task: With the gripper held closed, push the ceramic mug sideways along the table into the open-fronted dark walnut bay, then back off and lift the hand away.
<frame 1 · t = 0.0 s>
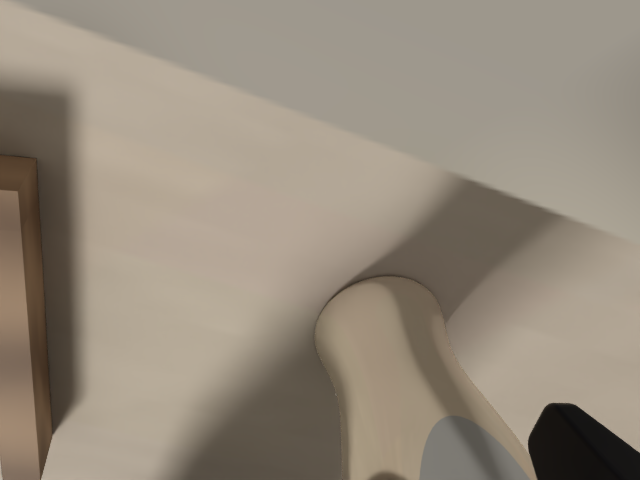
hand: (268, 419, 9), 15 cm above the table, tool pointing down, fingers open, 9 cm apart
beer glass: (376, 324, 28), on the table
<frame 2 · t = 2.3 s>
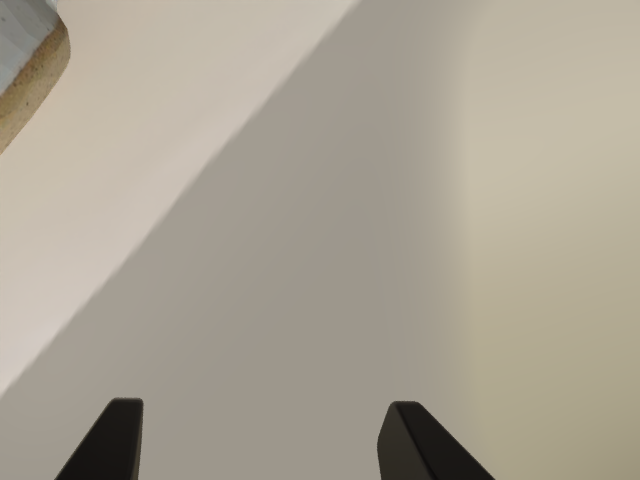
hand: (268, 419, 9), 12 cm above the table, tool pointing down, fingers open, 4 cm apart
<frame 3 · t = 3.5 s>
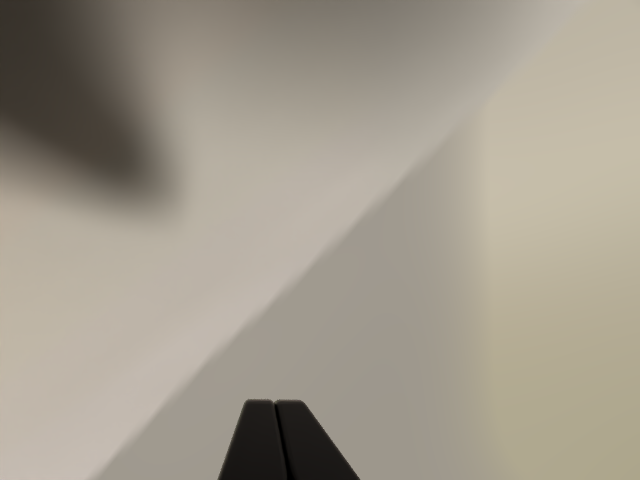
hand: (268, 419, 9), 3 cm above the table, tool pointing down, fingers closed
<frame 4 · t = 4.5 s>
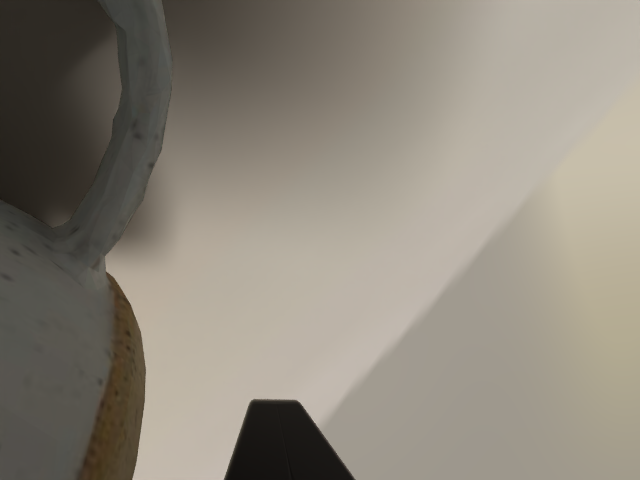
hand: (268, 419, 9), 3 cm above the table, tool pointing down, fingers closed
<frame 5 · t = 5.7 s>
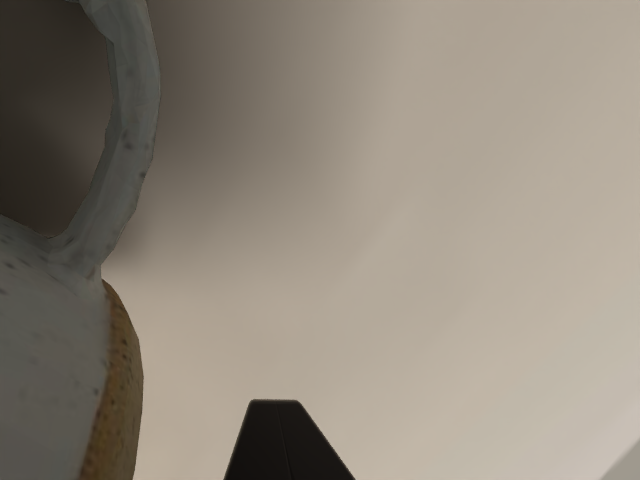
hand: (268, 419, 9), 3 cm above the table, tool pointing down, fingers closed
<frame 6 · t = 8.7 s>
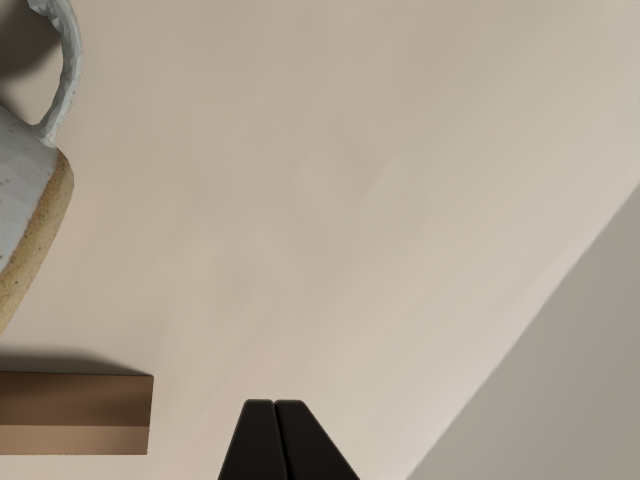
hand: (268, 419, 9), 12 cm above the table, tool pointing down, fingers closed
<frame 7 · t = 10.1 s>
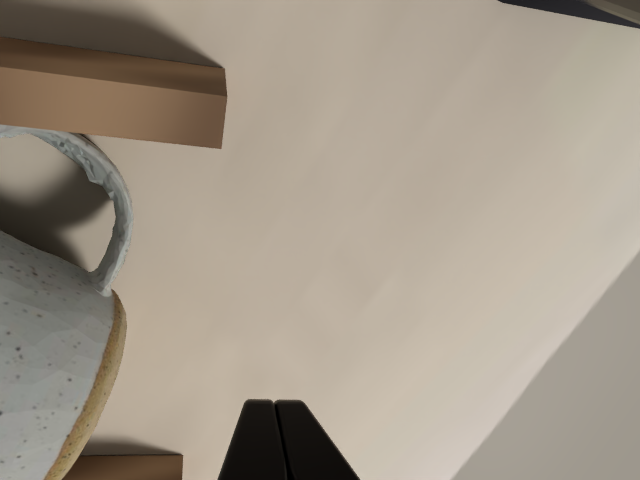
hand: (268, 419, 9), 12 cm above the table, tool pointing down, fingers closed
walnut bay: (11, 307, 21), on the table
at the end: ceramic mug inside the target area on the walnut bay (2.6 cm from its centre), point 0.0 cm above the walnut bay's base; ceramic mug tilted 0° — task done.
